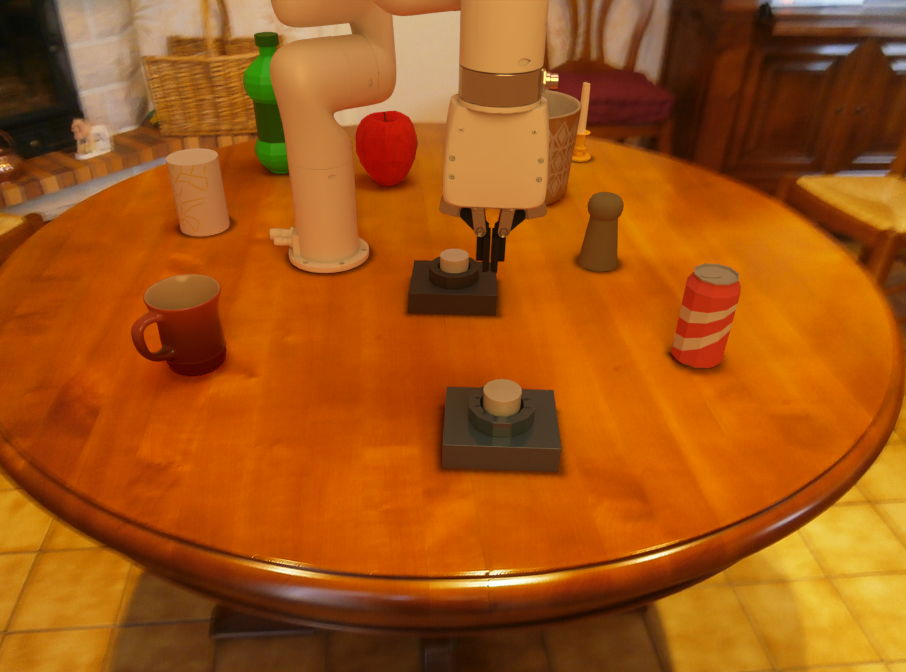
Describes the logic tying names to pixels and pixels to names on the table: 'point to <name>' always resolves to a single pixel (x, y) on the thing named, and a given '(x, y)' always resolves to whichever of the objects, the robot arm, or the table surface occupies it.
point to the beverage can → (706, 315)
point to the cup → (198, 191)
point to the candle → (582, 128)
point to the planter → (560, 141)
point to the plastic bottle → (266, 106)
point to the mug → (184, 324)
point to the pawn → (601, 232)
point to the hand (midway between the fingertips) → (489, 266)
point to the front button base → (501, 433)
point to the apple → (386, 146)
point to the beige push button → (502, 397)
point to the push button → (454, 261)
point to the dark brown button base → (452, 290)
